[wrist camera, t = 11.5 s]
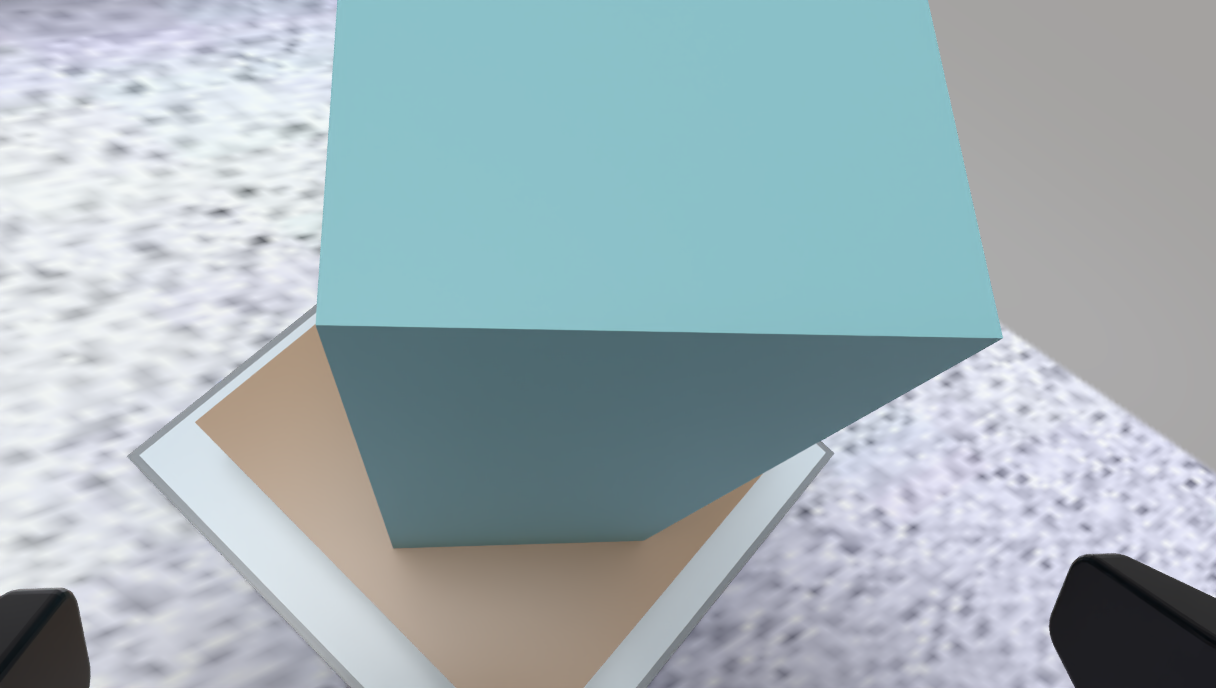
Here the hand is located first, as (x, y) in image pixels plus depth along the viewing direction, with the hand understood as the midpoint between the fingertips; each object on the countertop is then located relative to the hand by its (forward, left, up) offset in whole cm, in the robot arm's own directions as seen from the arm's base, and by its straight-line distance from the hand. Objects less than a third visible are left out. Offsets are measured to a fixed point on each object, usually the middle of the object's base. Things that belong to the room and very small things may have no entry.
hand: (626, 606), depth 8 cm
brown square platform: (+3, +3, -14) cm, 14 cm away
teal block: (+3, +3, -10) cm, 11 cm away
